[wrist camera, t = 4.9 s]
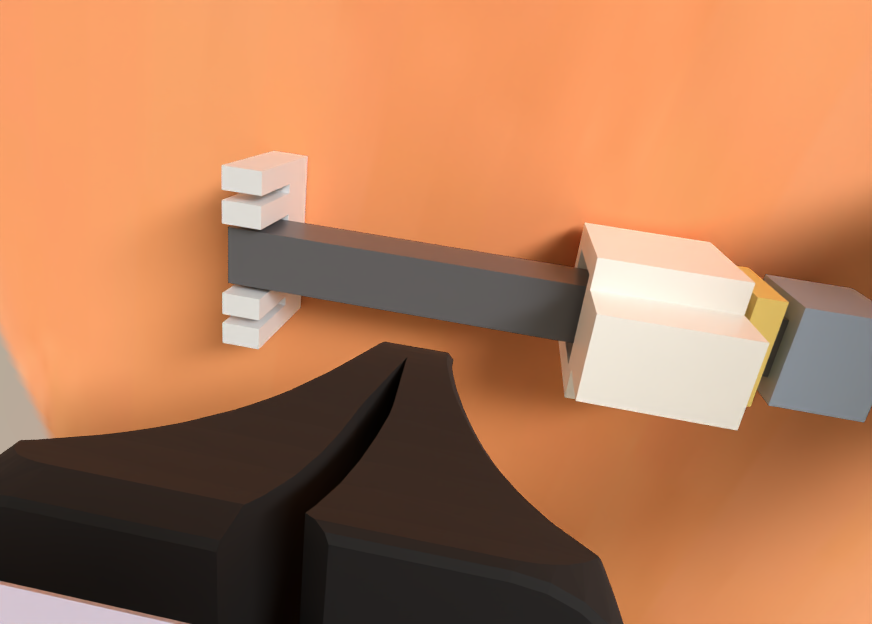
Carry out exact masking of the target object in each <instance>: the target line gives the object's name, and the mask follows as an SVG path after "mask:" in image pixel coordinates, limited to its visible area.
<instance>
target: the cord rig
mask: <svg viewBox="0 0 872 624" xmlns="http://www.w3.org/2000/svg"><path fill="white" fill-rule="evenodd" d="M307 161H308V156H305V155H298V154H292V153H285V152H279V151H271V152H268V153H264V154H260V155H257V156H253V157H249V158H246V159H242V160H238V161H235V162H231V163H228V164H224V165H222V190H227V191H233V192H239V193H238V194H236V195H233V196H231V197H228V198H225V199H223V200H222V224H228V225H231V226H229V227H228V283H232V284H235V285H233V286H232V287H230V288H229V289H227V290H226V291H224V292H223V293H222V314H226V315H231V316H230V317H229V318H228V319H226V320H225V321H224V322H223V323H222V335H223V343H227V344H233V345H238V346H243V347H249V348H254V349H259V348H260V347H261V346H262V345H263V344H264V343H265V342H266V341H267V340H268V339H269V338H270V337H271V336H272V335H273V334H274V333H276V332H277V331H278V330H279V329H280V328H281V327H282V326H283V325H284V324H285V323H286V322H287V321H288V320H289V319H290V318H291V317H292V316H293V315H294V314H295V313H296V312H297V311H298V310H299V309H300V308H301V296H306V297H312V298H318V299H323V300H329V301H335V302H341V303H346V304H352V305H358V306H364V307H369V308H375V309H381V310H386V311H392V312H398V313H404V314H409V315H415V316H421V317H426V318H432V319H438V320H444V321H449V322H455V323H461V324H466V325H472V326H478V327H484V328H489V329H495V330H501V331H507V332H512V333H518V334H524V335H529V336H535V337H541V338H547V339H552V340H558V341H564V342H569V343H574V339H575V334H576V330H577V326H578V321H579V317H580V313H581V309H582V304H583V300H584V296H585V292H586V287H587V283H588V279H589V272H588V269H582V268H576V267H570V266H563V265H557V264H551V263H545V262H539V261H533V260H527V259H521V258H515V257H509V256H502V255H496V254H490V253H484V252H478V251H472V250H466V249H460V248H454V247H447V246H441V245H435V244H429V243H423V242H417V241H411V240H405V239H399V238H392V237H386V236H380V235H374V234H368V233H362V232H356V231H350V230H344V229H338V228H331V227H325V226H319V225H313V224H307V223H305V204H306V183H307ZM737 267H738V268H739V269H740V270H742V271H743V272H744V273H745V274H746V275H747V276H748V277H749V278H750V279H752V280H753V281H754V282H755V286H754V289H753V292H752V295H751V298H750V300H749V303H748V306H747V309H746V312H745V315H744V316H745V317H746V318H747V319H748V320H749V321H750V322H751V323H752V324H753V326H754V327H755V328H756V329H757V330H758V331H759V332H760V333H761V334H762V335H763V337H764V338H765V339H766V340H767V341H768V342H769V346H768V349H767V352H766V354H765V357H764V360H763V362H762V365H761V368H760V371H759V373H758V376H757V379H756V381H755V384H754V387H753V390H752V392H751V395H750V398H749V400H748V403H747V406H748V407H751V404H752V401H753V399H754V396H755V393H756V390H758V392H759V393H760V394H761V396H762V397H763V399H764V400H765V401H766V403H767V404H768V405H769V406H775V407H780V408H786V409H792V410H797V411H803V412H808V413H814V414H819V415H825V416H831V417H836V418H842V419H847V420H853V421H859V422H865V420H866V417H867V415H868V413H869V411H870V409H871V406H872V301H871V300H870V299H868V298H867V297H865V296H864V295H862V294H861V293H859V292H857V291H856V290H854V289H853V288H848V287H841V286H835V285H829V284H823V283H816V282H810V281H804V280H798V279H791V278H785V277H779V276H773V275H767V274H765V277H764V280H762V279H761V278H760V277H759V276H758V275H757V274H756V273H754V272H753V271H752V270H751V269H750V268H747V267H741V266H737Z"/></svg>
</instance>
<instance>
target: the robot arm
mask: <svg viewBox="0 0 872 624" xmlns="http://www.w3.org/2000/svg"><path fill="white" fill-rule="evenodd" d="M452 364H453V359H452V357H451V356H450V355H449V353H446V352H440V351H435V350H429V349H423V348H417V347H412V346H406V345H400V344H395V343H389V342H383V343H380V344H378V345H377V346H375V347H373V348H371V349H369V350H368V351H366V352H364V353H362V354H361V355H359V356H357V357H355V358H354V359H352V360H350V361H348V362H346V363H345V364H343V365H341V366H339V367H337V368H335V369H334V370H332V371H330V372H328V373H326V374H324V375H322V376H320V377H317V378H315V379H313V380H311V381H309V382H307V383H305V384H303V385H300V386H298V387H296V388H294V389H292V390H290V391H287V392H285V393H282V394H280V395H277V396H274V397H272V398H269V399H266V400H263V401H260V402H258V403H255V404H252V405H249V406H246V407H242V408H239V409H236V410H232V411H228V412H224V413H220V414H216V415H212V416H208V417H204V418H200V419H196V420H192V421H188V422H183V423H178V424H173V425H167V426H161V427H156V428H150V429H143V430H136V431H129V432H122V433H113V434H104V435H93V436H80V437H66V438H53V439H40V440H21V441H19V442H17V443H16V444H14V445H13V446H12V447H10V448H9V449H7V450H6V451H5V452H3V453H2V454H0V624H623V621H622V618H621V615H620V612H619V608H618V605H617V602H616V599H615V596H614V593H613V591H612V588H611V585H610V583H609V580H608V577H607V574H606V572H605V569H604V567H603V564H602V562H601V560H600V558H599V557H598V556H597V555H596V554H594V553H593V552H592V551H590V550H589V549H587V548H586V547H585V546H583V545H582V544H580V543H579V542H578V541H576V540H575V539H573V538H572V537H571V536H569V535H568V534H567V533H565V532H564V531H562V530H561V529H560V528H558V527H557V526H555V525H554V524H553V523H552V522H550V521H549V520H548V519H547V518H546V517H545V516H543V515H542V514H541V513H540V512H539V511H538V510H537V509H536V508H534V507H533V506H532V505H531V504H530V503H529V502H528V501H527V500H526V499H525V498H524V497H523V496H522V495H521V494H520V493H519V492H518V491H517V490H516V489H515V488H514V487H513V486H512V485H511V484H510V482H509V481H508V480H507V479H506V478H505V477H504V476H503V475H502V473H501V472H500V471H499V470H498V468H497V467H496V466H495V464H494V463H493V462H492V460H491V459H490V457H489V456H488V454H487V453H486V451H485V450H484V448H483V446H482V445H481V443H480V441H479V440H478V438H477V436H476V434H475V432H474V430H473V428H472V426H471V424H470V422H469V420H468V418H467V416H466V413H465V411H464V409H463V406H462V403H461V400H460V398H459V395H458V392H457V389H456V385H455V381H454V377H453V371H452Z"/></svg>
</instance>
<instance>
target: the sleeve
mask: <svg viewBox="0 0 872 624" xmlns="http://www.w3.org/2000/svg"><path fill="white" fill-rule="evenodd" d="M575 267H576V268H582V269H588V272H589V279H588V283H587V287H586V292H585V296H584V300H583V304H582V309H581V313H580V317H579V321H578V326H577V330H576V334H575V339H574V343H569V342H564V341H559V349H560V359H561V368H562V377H563V387H564V396H565V397H566V398H571V399H575V400H576V401H579V402H585V403H590V404H596V405H601V406H606V407H612V408H617V409H623V410H628V411H634V412H639V413H645V414H650V415H656V416H661V417H667V418H672V419H677V420H683V421H688V422H694V423H699V424H705V425H710V426H716V427H721V428H727V429H732V430H738V428H739V425H740V422H741V419H742V417H743V414H744V411H745V409H746V406H747V403H748V400H749V398H750V395H751V392H752V390H753V387H754V384H755V381H756V379H757V376H758V373H759V371H760V368H761V365H762V362H763V360H764V357H765V354H766V352H767V349H768V346H769V342H768V341H767V340H766V339H765V338H764V337H763V335H762V334H761V333H760V332H759V331H758V330H757V329H756V328H755V327H754V326H753V324H752V323H751V322H750V321H749V320H748V319H747V318H746V317H745V316H744V315H745V312H746V309H747V306H748V303H749V300H750V298H751V295H752V292H753V289H754V286H755V282H754V281H753V280H752V279H750V278H749V277H748V276H747V275H746V274H745V273H744V272H743V271H742V270H740V269H739V268H738V267H737V266H736V265H735V264H734V263H733V262H732V261H731V260H729V259H728V258H727V257H726V256H725V255H724V254H723V253H722V252H721V251H719V250H718V249H717V248H716V247H715V246H714V245H713V244H712V243H711V242H705V241H699V240H693V239H686V238H680V237H674V236H667V235H661V234H654V233H648V232H642V231H635V230H629V229H623V228H616V227H610V226H603V225H597V224H591V223H584V227H583V232H582V236H581V240H580V245H579V249H578V254H577V258H576V263H575Z"/></svg>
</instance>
